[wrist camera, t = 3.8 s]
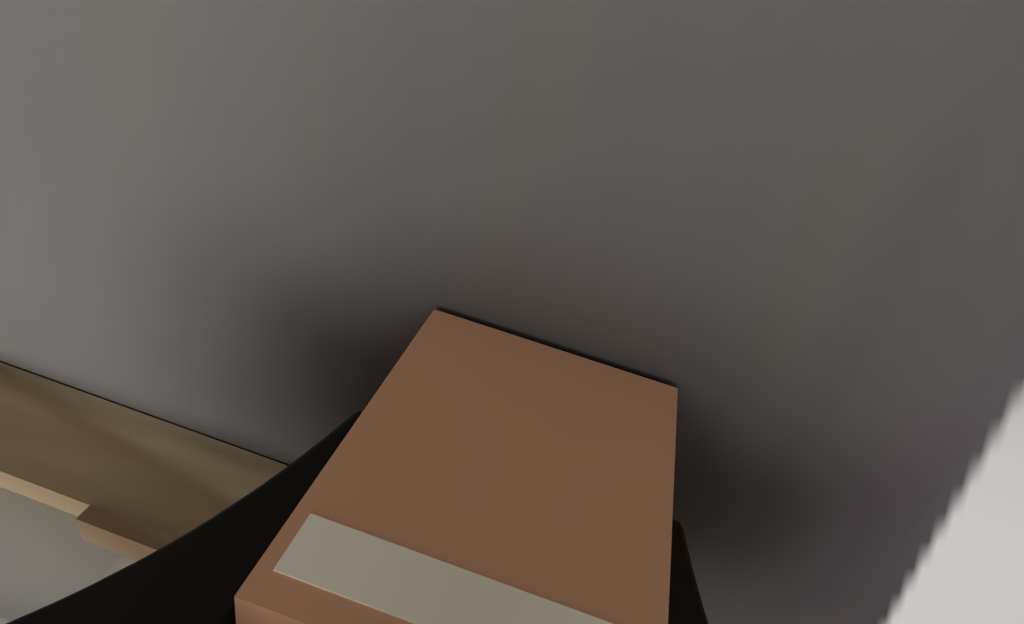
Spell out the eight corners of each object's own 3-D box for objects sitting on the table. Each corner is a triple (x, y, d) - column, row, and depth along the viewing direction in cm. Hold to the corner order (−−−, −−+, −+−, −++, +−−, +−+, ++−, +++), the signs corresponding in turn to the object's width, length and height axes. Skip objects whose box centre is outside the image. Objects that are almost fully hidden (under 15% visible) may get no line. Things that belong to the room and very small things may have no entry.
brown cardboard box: (600, 551, 14) (546, 903, 9) (404, 482, 14) (246, 780, 9) (678, 387, 11) (663, 759, 6) (433, 308, 12) (234, 595, 7)
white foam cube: (192, 609, 19) (68, 776, 15) (41, 549, 19) (-116, 698, 16) (177, 497, 16) (18, 670, 12) (-1, 431, 16) (-206, 578, 13)
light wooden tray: (440, 715, 20) (402, 829, 17) (42, 560, 21) (-46, 644, 19) (495, 538, 15) (453, 663, 12) (-33, 349, 16) (-167, 426, 14)
